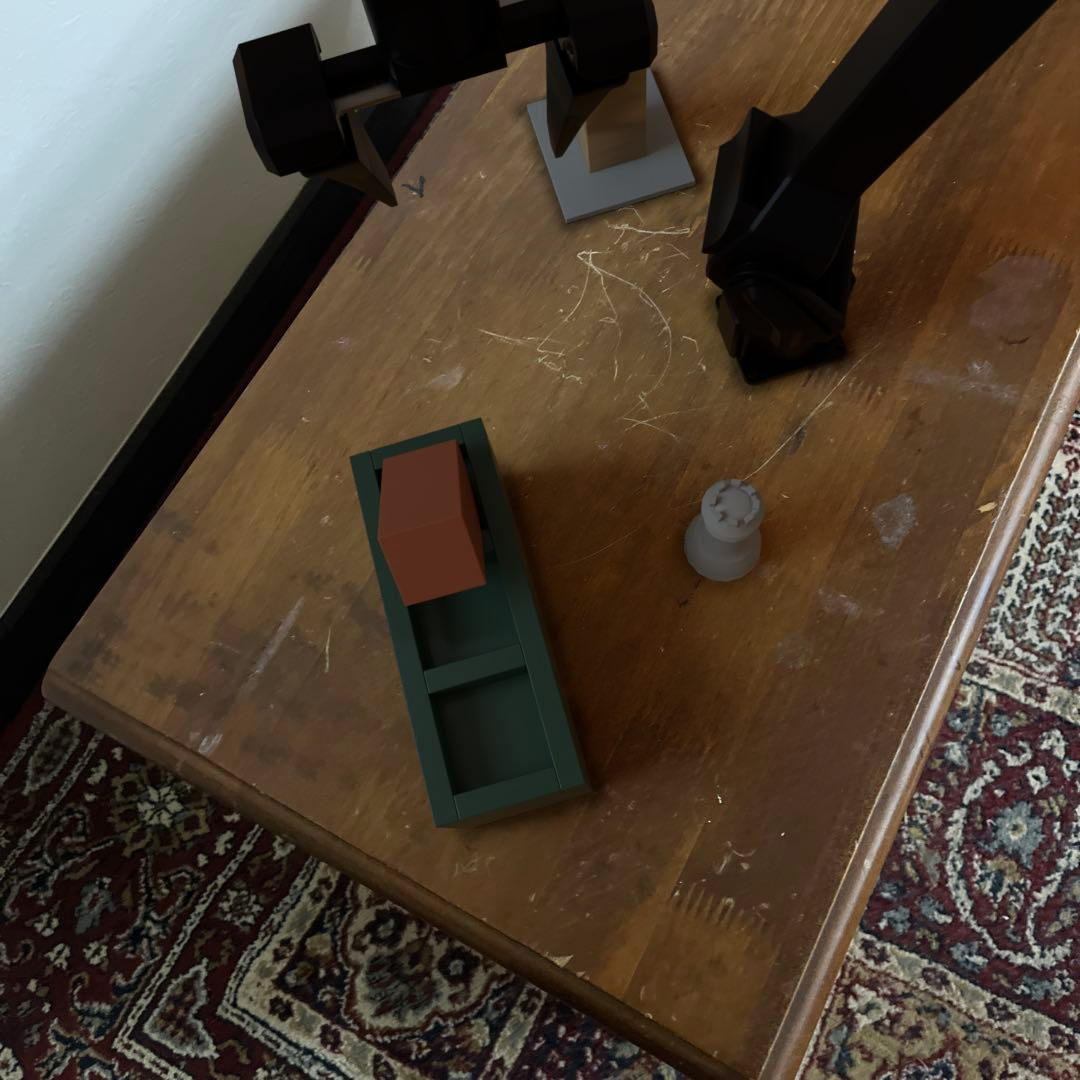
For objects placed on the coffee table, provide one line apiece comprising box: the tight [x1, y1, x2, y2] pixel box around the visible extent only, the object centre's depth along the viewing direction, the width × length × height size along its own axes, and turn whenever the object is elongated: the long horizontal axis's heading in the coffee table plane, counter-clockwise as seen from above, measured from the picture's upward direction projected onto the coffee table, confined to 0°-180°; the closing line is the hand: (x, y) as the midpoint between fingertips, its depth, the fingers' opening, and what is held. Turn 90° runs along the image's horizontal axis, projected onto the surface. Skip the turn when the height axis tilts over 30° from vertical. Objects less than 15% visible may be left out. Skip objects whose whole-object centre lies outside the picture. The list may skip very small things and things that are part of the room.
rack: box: [348, 417, 594, 830], centre depth 52 cm, size 7×20×8 cm, turn 16°
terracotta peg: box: [378, 439, 486, 606], centre depth 47 cm, size 4×4×8 cm
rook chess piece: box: [683, 478, 766, 583], centre depth 53 cm, size 4×4×8 cm
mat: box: [526, 67, 696, 224], centre depth 65 cm, size 9×10×1 cm
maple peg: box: [576, 68, 647, 173], centre depth 61 cm, size 4×4×8 cm
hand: (474, 175), depth 52 cm, fingers open, 9 cm apart
